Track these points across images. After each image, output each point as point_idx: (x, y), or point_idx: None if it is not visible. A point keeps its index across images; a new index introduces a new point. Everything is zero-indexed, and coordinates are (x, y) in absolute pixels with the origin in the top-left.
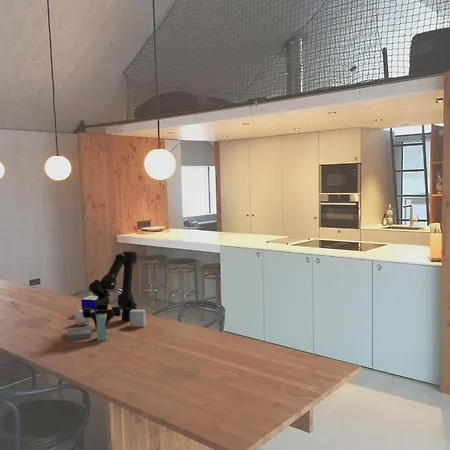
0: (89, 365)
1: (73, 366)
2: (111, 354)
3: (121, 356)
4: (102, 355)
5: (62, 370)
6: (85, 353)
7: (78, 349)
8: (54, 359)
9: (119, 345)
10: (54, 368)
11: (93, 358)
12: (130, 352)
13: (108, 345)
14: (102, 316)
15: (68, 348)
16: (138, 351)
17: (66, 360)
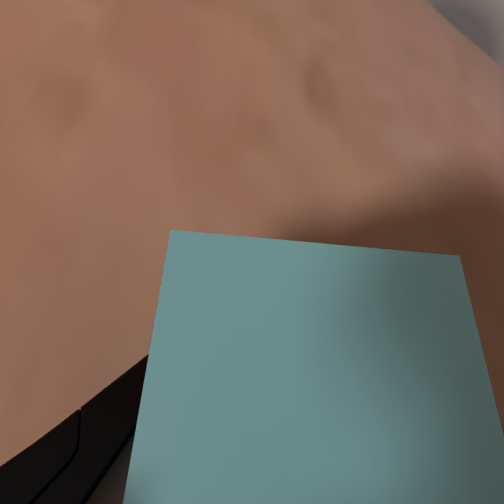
0: (324, 3)
1: (386, 20)
2: (219, 57)
3: (176, 19)
4: (265, 65)
5: (420, 9)
6: (353, 124)
7: (402, 200)
8: (491, 116)
9: (140, 159)
10: (457, 35)
11: (309, 53)
12: (116, 39)
13: (211, 190)
14: (251, 331)
15: (470, 245)
16: (69, 33)
17: (431, 83)
